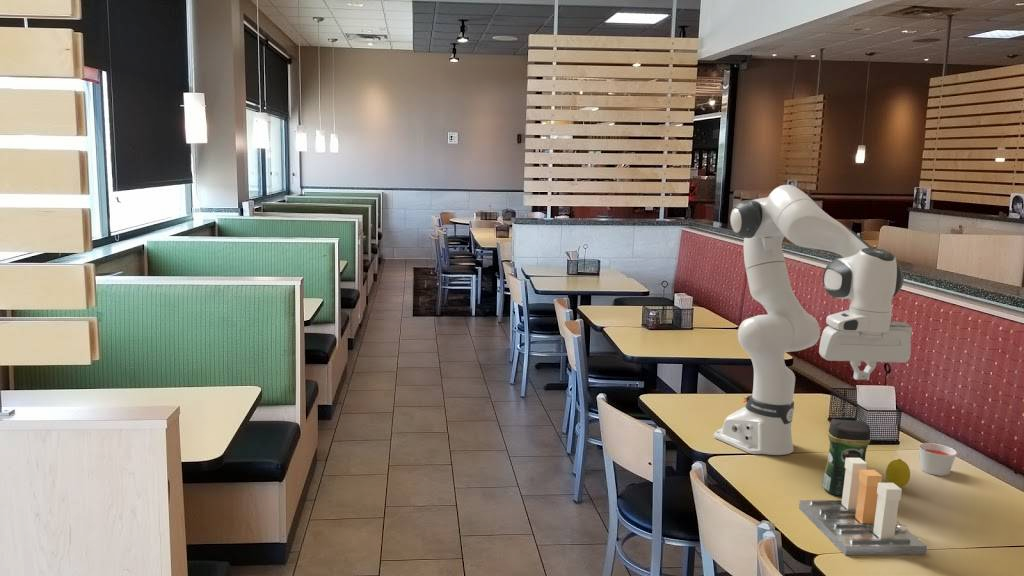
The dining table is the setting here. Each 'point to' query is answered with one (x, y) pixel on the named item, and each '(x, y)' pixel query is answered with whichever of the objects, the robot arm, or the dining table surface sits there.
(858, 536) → the console
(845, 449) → the coffee jar
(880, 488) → the cream knob right
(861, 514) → the tan tall block
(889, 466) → the lemon
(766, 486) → the dining table surface
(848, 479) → the cream knob left
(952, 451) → the white ramekin
